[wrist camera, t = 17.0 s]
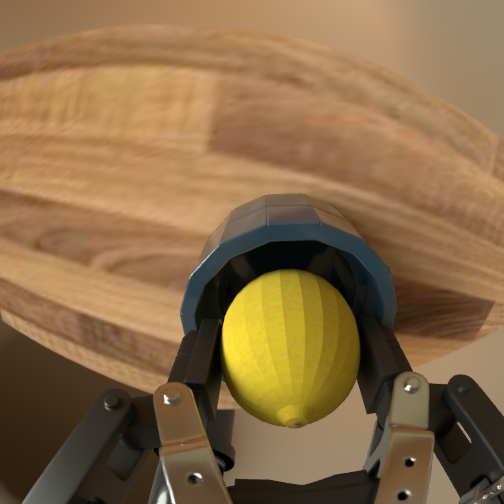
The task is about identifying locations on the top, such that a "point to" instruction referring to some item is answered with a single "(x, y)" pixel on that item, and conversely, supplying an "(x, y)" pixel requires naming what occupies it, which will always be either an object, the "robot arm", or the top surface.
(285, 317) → the lemon
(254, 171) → the top surface
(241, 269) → the bowl
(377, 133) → the top surface
